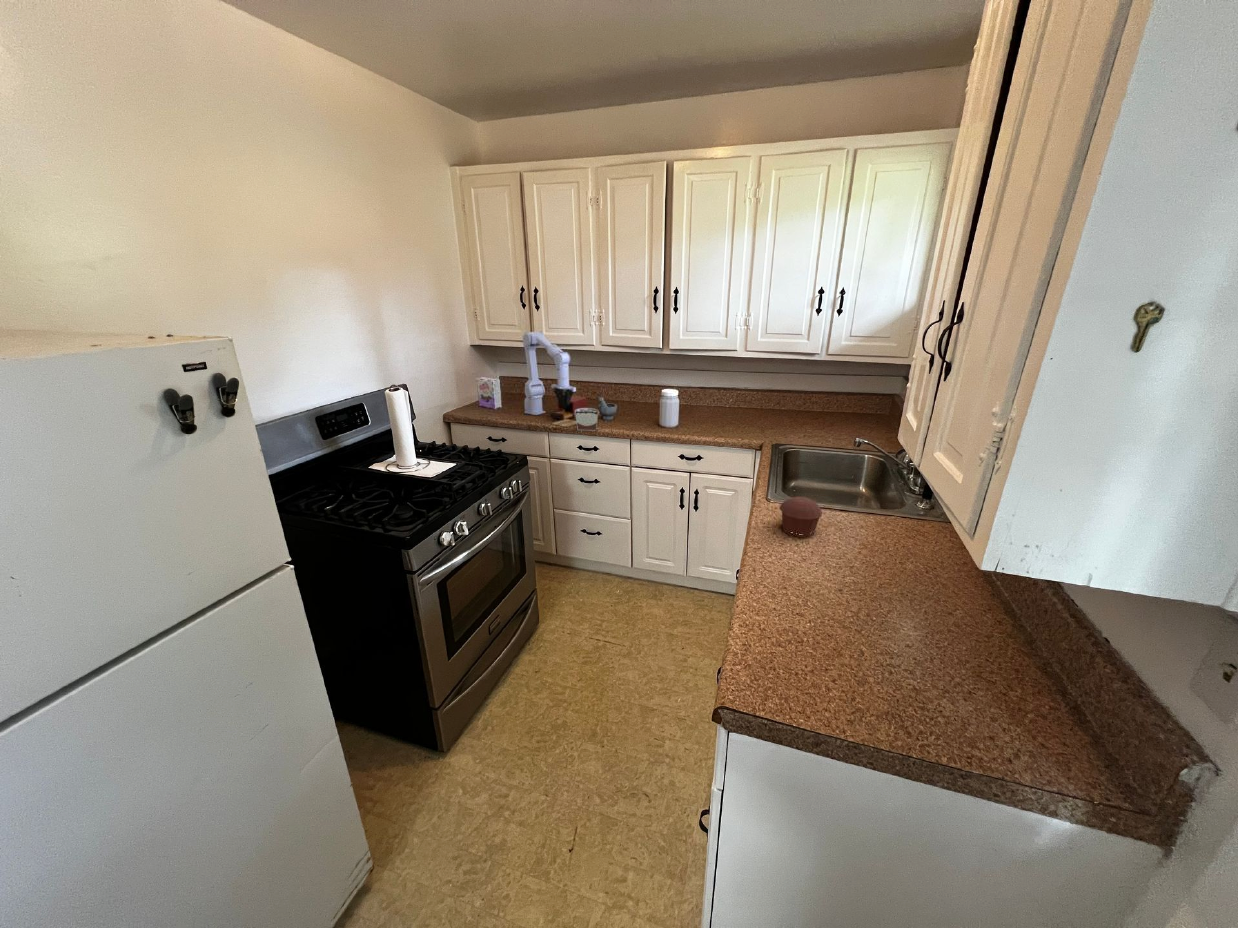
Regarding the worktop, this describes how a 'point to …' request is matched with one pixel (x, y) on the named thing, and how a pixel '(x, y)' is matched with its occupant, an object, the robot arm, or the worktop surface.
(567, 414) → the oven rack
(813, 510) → the muffin
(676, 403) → the jar
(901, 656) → the worktop surface
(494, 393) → the candy box
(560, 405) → the black weight
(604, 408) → the mortar and pestle
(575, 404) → the dark red block
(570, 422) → the trivet
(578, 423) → the food container
